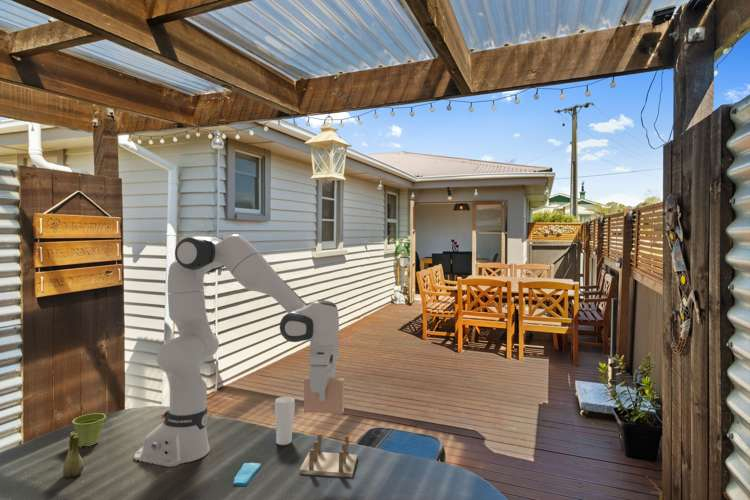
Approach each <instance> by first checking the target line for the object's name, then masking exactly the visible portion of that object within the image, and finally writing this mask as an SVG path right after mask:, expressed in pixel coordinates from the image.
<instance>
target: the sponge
mask: <svg viewBox="0 0 750 500" xmlns="http://www.w3.org/2000/svg"><path fill="white" fill-rule="evenodd" d="M261 467H262V463H261V462H260V463H258V462H244V463H243V464H242V466H241V467H240V469H239V470H238V471H237V474H236V475H235V477H233V484H232V485H233V486H240V487H241V486H242V487H243V486H244V487H245V486H248V485H249V484H250V482H251V481H252V479H253V478H254V476H255V474H257V472H258V471H259V470H260V468H261Z"/></svg>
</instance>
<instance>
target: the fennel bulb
mask: <svg viewBox="0 0 750 500" xmlns="http://www.w3.org/2000/svg"><path fill="white" fill-rule="evenodd" d="M78 443H79V437H78V433H76V431H71V432H69V444H68V450H67V453H66V456H65V461H64V464H63V467H62V469H63V470H62V473H63V476H64V477H65V478H75V477H77V476H78V475H80V474H81V473H82V472H83V471H84V467H85V463H84V460H83V458H82V456H81V455H80V453H79V452H80V451H79V447H78Z"/></svg>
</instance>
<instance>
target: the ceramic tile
mask: <svg viewBox="0 0 750 500" xmlns="http://www.w3.org/2000/svg"><path fill="white" fill-rule="evenodd" d="M344 411H345V378H344V377H333V378H330V380H329V384H328V385H327V387H326V399H325V401H320V400H319V392H312V390H311V386H310V376H305V378H304V379H303V412H304V413H314V414H315V413H316V414H318V413H319V414H340V415H341V414H342V415H343V414H344Z"/></svg>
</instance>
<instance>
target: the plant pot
mask: <svg viewBox="0 0 750 500" xmlns="http://www.w3.org/2000/svg"><path fill="white" fill-rule="evenodd" d="M106 417H107V415H106V414H105V413H101V412H97V413H88V414H84V415H79V416H78V417H75V418H73V420H72V421H71V422H72V424H73V426H74V428H75V434H76V433H78V437H79V443H78V445H79V446H87V445H91V444H94V443H96V442H97V441H99V442H100V440H101V433H102V428H103V424H104V422H105V419H106ZM99 439H100V440H99Z"/></svg>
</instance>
